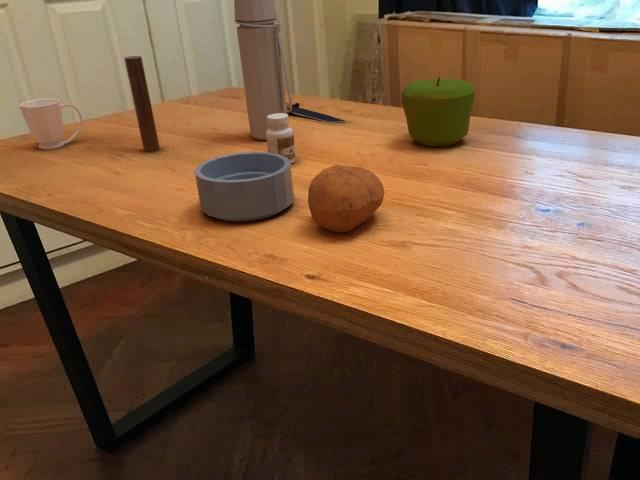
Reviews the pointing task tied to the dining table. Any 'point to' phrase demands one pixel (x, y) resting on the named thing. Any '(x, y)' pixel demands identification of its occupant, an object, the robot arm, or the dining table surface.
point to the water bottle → (261, 62)
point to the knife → (312, 114)
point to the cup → (47, 121)
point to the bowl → (245, 186)
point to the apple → (438, 110)
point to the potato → (344, 197)
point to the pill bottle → (280, 136)
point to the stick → (142, 103)
